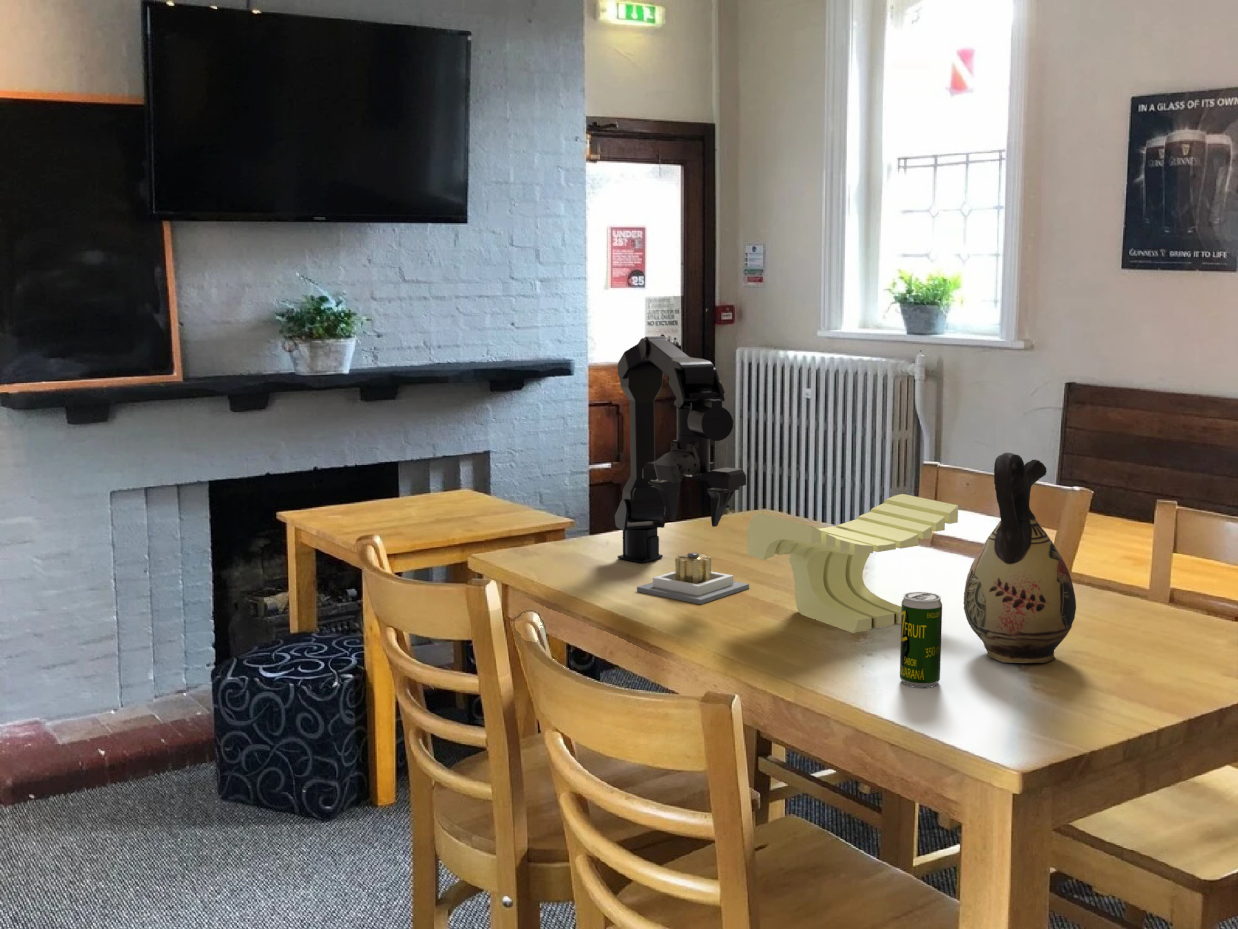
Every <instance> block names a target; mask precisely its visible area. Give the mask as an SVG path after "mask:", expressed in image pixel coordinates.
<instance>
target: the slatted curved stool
mask: <svg viewBox="0 0 1238 929" xmlns="http://www.w3.org/2000/svg"><path fill="white" fill-rule="evenodd" d="M958 522H959V505H958V504H954V503H949V502H943V501H939V500H936V499H934V500H933V499H929V498H925V497H921V496H915V495H909V494H904V493H900V494H896V495H893V496H890V497H888V498H886V499H885V500H884V501H883V503H882V504H879V505H876V506H874V507H871V509H870V510H869V511H868V512H866V513H863V514H861V515H859V516H858V517H857V518H855V519H853V520H850V521H847V522H844V523H843V522H842V523H839V524H837V525H836V526H828V527H823V528H816V526H813V525H812V524H811V525H810V524H806V523H803V522H799V521H795V520H792V519H788V518H783V517H780V516H776V515H772V514H769V513H765V512H756V513H754V514H753V515H751V517H750V519H749V523H748V526H747V556H749V557H753V558H755V559H759V560H762V561H765V560H768V559H769V558H772V557H774V556H775V555H778V556H782V555H789V558H788V559H789V564H790V566H791V570H792V574H793V580H794V595H795V598H794V599H795V604H796V610H797V611H798V613H799V614H800V615H801V616H804V617H806V618H810V619H813V620H815V619H816V621H818V622H821V623H824V624H827V625H829V626H832V627H834V628H837V627H838V629H841V630H843V631H846V632H849V633H852V634H856V633H860V632H865V631H870V630H872V628H873V629H881V628H885V627H890V626H891V627H892V626H894V625H895V624H896V625H901V608H902V605H901V606H900V605H898V604H896V603H893V602H890V601H888V600H886V599H884V598H881V597H880V596H878V595H876V594H875V593H873V592H872V591H871V590H870V589H869V588H868V587H867V586H866V585H865V583H864V579H863V574H864V569H865V566H866V563H867V561H868V559H869V558H870V555H871V554H873V553H874V552H876V553H881V552H882V553H883V552H887V551H894V550H896V549H907V548H914V547H918V546H919V539H920V540H928V539H932V536H933V535H932V533H933V532H942V531H945V530H946V528H945V527H946V524H948V525H951V524H958ZM932 531H933V532H932Z"/></svg>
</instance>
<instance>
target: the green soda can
mask: <svg viewBox="0 0 1238 929" xmlns="http://www.w3.org/2000/svg"><path fill="white" fill-rule="evenodd" d="M941 598H942V597H941V595H939V594H936V593H933V592H927V591H914V592H911V591H910V592H907V593H904V594H903V599H902V601H901V607H902V608H901V624H900V647H899V649H900V653H899V654H900V656H899V657H900V658H899V678H900V681H901V683H902V682H903V683H905V684H906V685H905V684H904V685H905V686H907V685H909V686H908V687H911V686H914V687H913V688H916V687H930V686H934V685H936V686H937V685H939V682H940V680H941V657H942V656H941V655H942V623H943V620H942V618H943V603H942V601H941ZM934 687H935V686H934ZM930 688H931V687H930Z"/></svg>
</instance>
